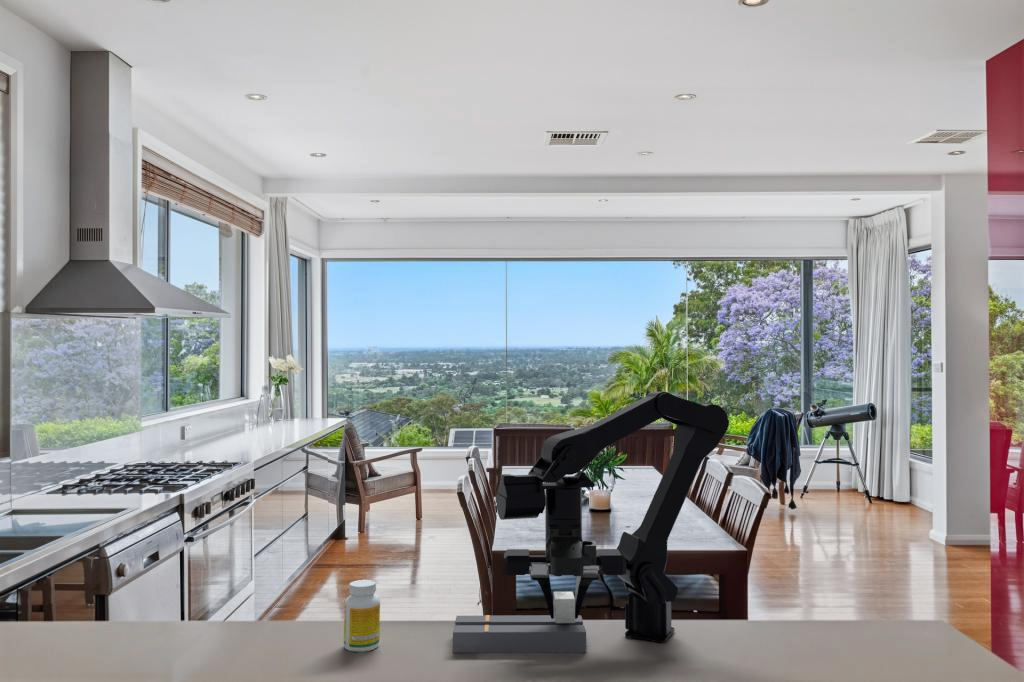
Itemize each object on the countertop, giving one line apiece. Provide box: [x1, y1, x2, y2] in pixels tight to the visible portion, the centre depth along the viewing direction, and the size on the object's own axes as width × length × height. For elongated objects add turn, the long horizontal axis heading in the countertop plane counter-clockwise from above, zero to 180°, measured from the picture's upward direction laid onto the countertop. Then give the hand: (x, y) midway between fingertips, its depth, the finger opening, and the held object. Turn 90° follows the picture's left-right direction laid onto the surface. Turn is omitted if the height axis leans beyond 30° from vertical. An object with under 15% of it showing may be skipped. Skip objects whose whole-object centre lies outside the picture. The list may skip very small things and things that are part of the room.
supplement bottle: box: [343, 579, 381, 653], centre depth 114 cm, size 5×5×10 cm
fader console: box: [452, 614, 587, 654], centre depth 116 cm, size 20×8×3 cm, turn 90°
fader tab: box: [553, 591, 575, 625], centre depth 116 cm, size 3×4×6 cm
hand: (564, 618), depth 116 cm, fingers open, 3 cm apart
